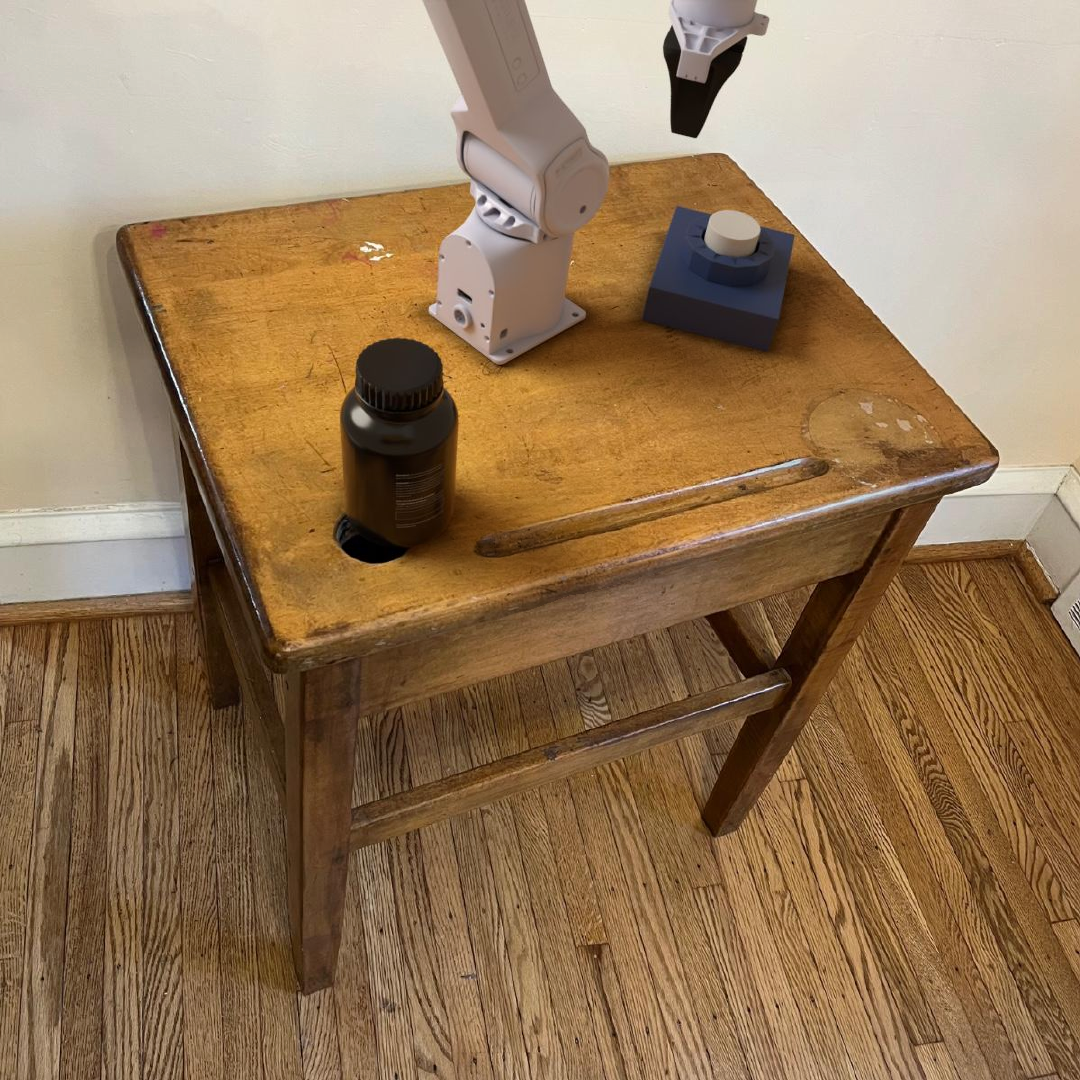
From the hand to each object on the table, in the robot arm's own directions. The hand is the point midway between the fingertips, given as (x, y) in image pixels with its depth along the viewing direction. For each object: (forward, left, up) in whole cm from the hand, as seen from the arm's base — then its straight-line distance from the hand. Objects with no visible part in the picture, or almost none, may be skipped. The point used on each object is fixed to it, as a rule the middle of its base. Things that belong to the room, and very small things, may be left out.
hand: (685, 131), depth 82 cm
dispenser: (-1, -7, -10) cm, 13 cm away
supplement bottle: (-36, -9, -11) cm, 39 cm away
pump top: (-1, -7, -6) cm, 9 cm away
